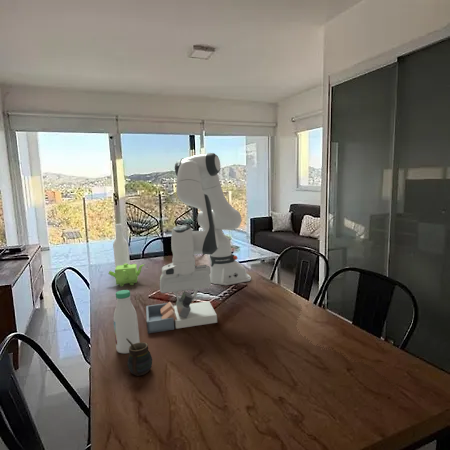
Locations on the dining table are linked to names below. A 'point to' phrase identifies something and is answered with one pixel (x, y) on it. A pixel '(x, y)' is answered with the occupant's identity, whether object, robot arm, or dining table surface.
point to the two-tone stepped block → (184, 304)
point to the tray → (157, 319)
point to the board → (196, 315)
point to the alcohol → (120, 247)
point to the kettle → (126, 274)
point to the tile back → (167, 308)
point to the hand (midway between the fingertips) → (186, 300)
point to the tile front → (170, 315)
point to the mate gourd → (139, 358)
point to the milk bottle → (125, 322)
